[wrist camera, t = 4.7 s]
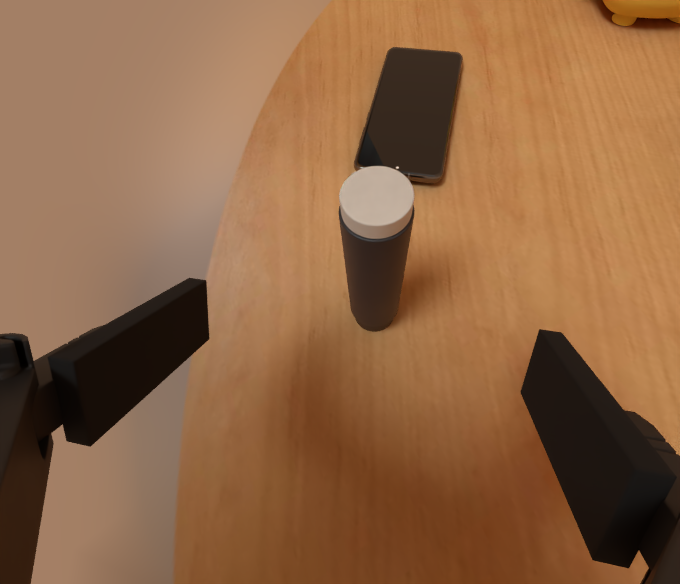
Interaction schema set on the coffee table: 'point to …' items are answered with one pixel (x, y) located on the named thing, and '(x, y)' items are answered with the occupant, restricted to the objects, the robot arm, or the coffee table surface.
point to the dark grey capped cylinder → (375, 241)
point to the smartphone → (412, 113)
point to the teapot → (643, 10)
